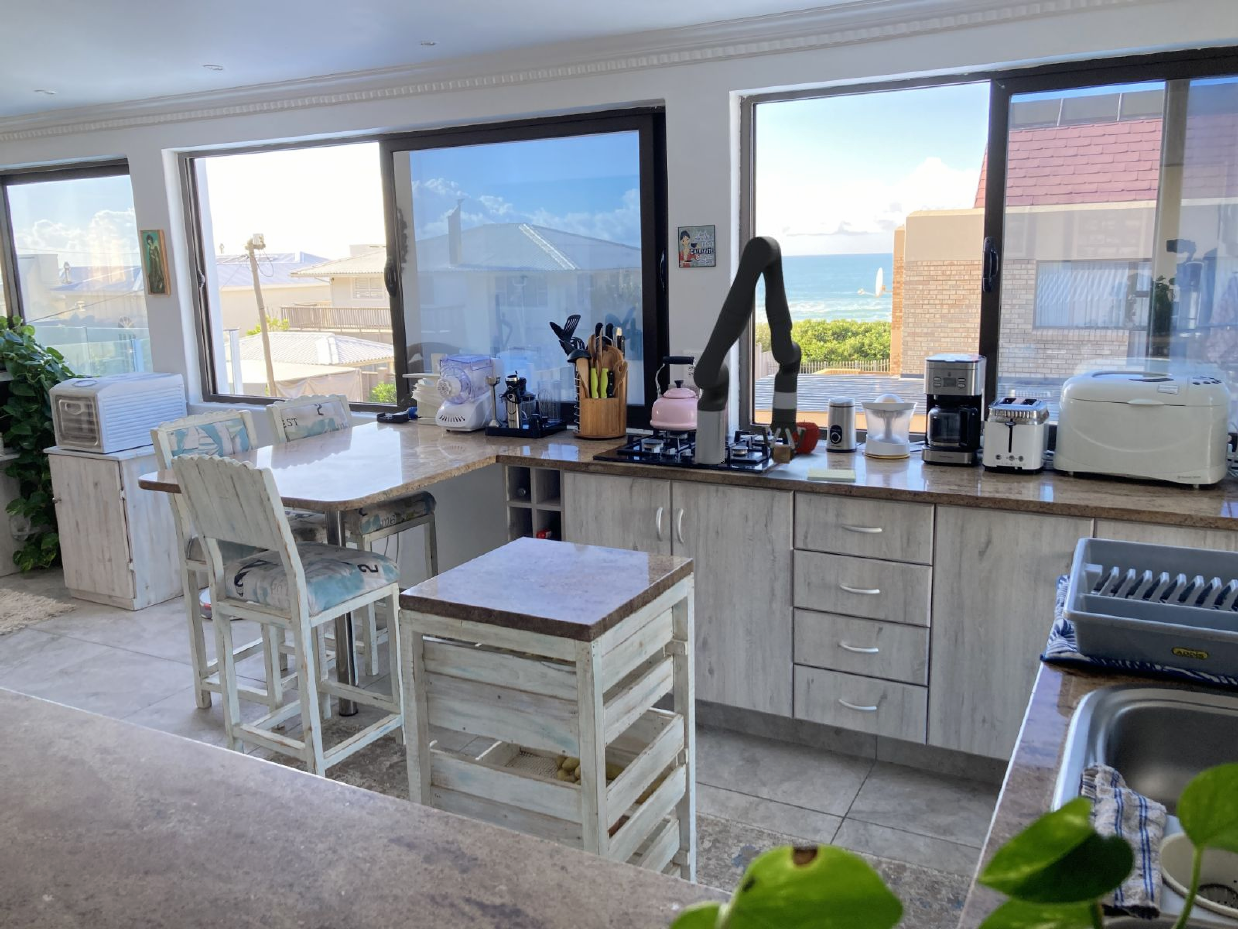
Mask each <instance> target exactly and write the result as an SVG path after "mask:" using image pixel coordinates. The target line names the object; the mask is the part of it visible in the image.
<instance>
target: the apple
mask: <svg viewBox="0 0 1238 929" xmlns="http://www.w3.org/2000/svg"><path fill="white" fill-rule="evenodd" d="M796 424H797V427H800V428H805V429H806V430H805V434H804V437H803V441H802V444H801V447H798V448H795V454H798V455H809V454H811V453H812V452H813V451H815V449H816V448H817V445H818V442H819V439H820V435H821V430H820V427H819V425H817V423H815V422H813V421H812V422H811V421H810V422H809V421H806V420H805V419H804V420H803V421H796ZM792 436H793V440H794V443H798V440H799V437H800V435H799V434H798V431H797V430H796V431H795V433H794V434H793V435H792Z"/></svg>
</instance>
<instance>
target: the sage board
mask: <svg viewBox="0 0 1238 929" xmlns="http://www.w3.org/2000/svg"><path fill="white" fill-rule="evenodd" d="M856 479H857V478H856V470H854V469H853V470H851V469H831V468H829V469H828V468H825V469H824V468H808V472H807V480H808V481H826V482H827V481H830V482H849V483H851V482H852V483H853V482H854V483H856Z"/></svg>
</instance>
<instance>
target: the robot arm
mask: <svg viewBox="0 0 1238 929" xmlns="http://www.w3.org/2000/svg"><path fill="white" fill-rule="evenodd" d="M780 245H781V244H780V243H779V241H778V240H777V239H776V238H774V237H772V236H765V235H764V236H762V235H760V236H754V237H752V238H751V239H749V240H748V241H747V243H746V244H745V246H744V248H743V251H742V254H741V258H740V261H739V265H738V268H737V270H736V274H735V277H734V279H733V282H732V284H731V286H730V288H729V291H728V293H727V296H726V297H725V301H724V302H723V304H722V307H721V309H720V312H719V314H718V317H717V320H716V322H715V325H714V327H713V329H712V332H711V334H710V337H709V339H708V342H707V344H706V346H705V349H704V350H703V352H702V354H701V355H700V357H699V360H698V361H697V363H696V365H695V367H694V370H693V373H692V374H693V376H692V378H693V383H694V385H695V386H696V387H697V388H698V389H699V390H703V391H702V395H701V396H700V398H699V399H698V400H697V403H696V433H695V439H694V440H695V447H694V448H695V449H694V450H695V451H694V455H695V456H694V459H695V460H694V462H695V463H696V464H697V463H698V464H704V465H717V464H722V463H721V462H723V461H724V462H725V457H726V455H725V454H726V453H725V452H726V409H727V408H726V406H727V402H728V400H729V393H730V392H729V391H730V371H729V368H728V365H727V364H726V363H725V362H724V360H725V358H726V357H727V356H726V355H727V354H728V352H729V351H730V350H731V348H732V347H733V346H734V345H735V343H736V342H737V341H738V340H739V339H740V337H741V336H742V334H743V333H744V332H745V329H746V328H747V325H748V323H749V321H750V318H751V316H752V314H753V310H754V304H755V293H756V288H757V284H758V282H759V280H760V278H761V275H762V276H763V280H764V288H765V289H764V291H765V294H764V307H765V315H766V320H767V324H768V326H769V327H768V328H769V331H770V347H771V348H770V349H771V355H772V357H773V359H774V361H775V362H776V363H777V364H779V365H778V371H777V372H776V374H775V375H774V385H773V386H774V387H773V394H772V403H771V404H772V407H771V408H772V409H771V421H770V422H771V423H770V424H769V425H766V426H765V425H762V426H761V429H760V430H761V433H762V434H761V435H762V439H763V444H764V446H766V447H768V448H769V458H771V460H772V461H773V456H774V445H775V444H777V440H778V439H784V440H787V441H788V443H789V445H790V446H791V449H790V462H792V461H793V460H794V459H795V454H796V452H795V448H798V447H801V444H802V441H803V437H804V434H805V430H806V429H805V428H800V427H797V424H796V422H797V414H798V413H797V412H798V376H799V372H800V368H801V363H802V355H803V354H802V347H801V345H800V344H799V343H798V342H797V341H795V340H792V339H793V338H792V335H791V334H792V333H791V332H792V330H793V321H792V316H791V312H790V308H789V304H788V299H787V294H786V288H785V287H786V286H785V280H784V272H783V258H782V249H781V246H780ZM769 430H771V432H772V434H773V438H772V440H771V441H769V436H768V433H769V432H770V431H769ZM796 430H797V431H798V434H799V435H800V437H799V440H798V443H794V440H793V436H792V435H793V434H794V433H795V431H796ZM724 462H723V463H724Z"/></svg>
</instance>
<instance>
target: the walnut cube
mask: <svg viewBox="0 0 1238 929" xmlns="http://www.w3.org/2000/svg"><path fill="white" fill-rule="evenodd" d="M790 449H791V446H790V444H783V443H782V444H779V443H775V445H774V456H773V460H772V461H773V463H772V464H788V465H789V464H791V461H790Z"/></svg>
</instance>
